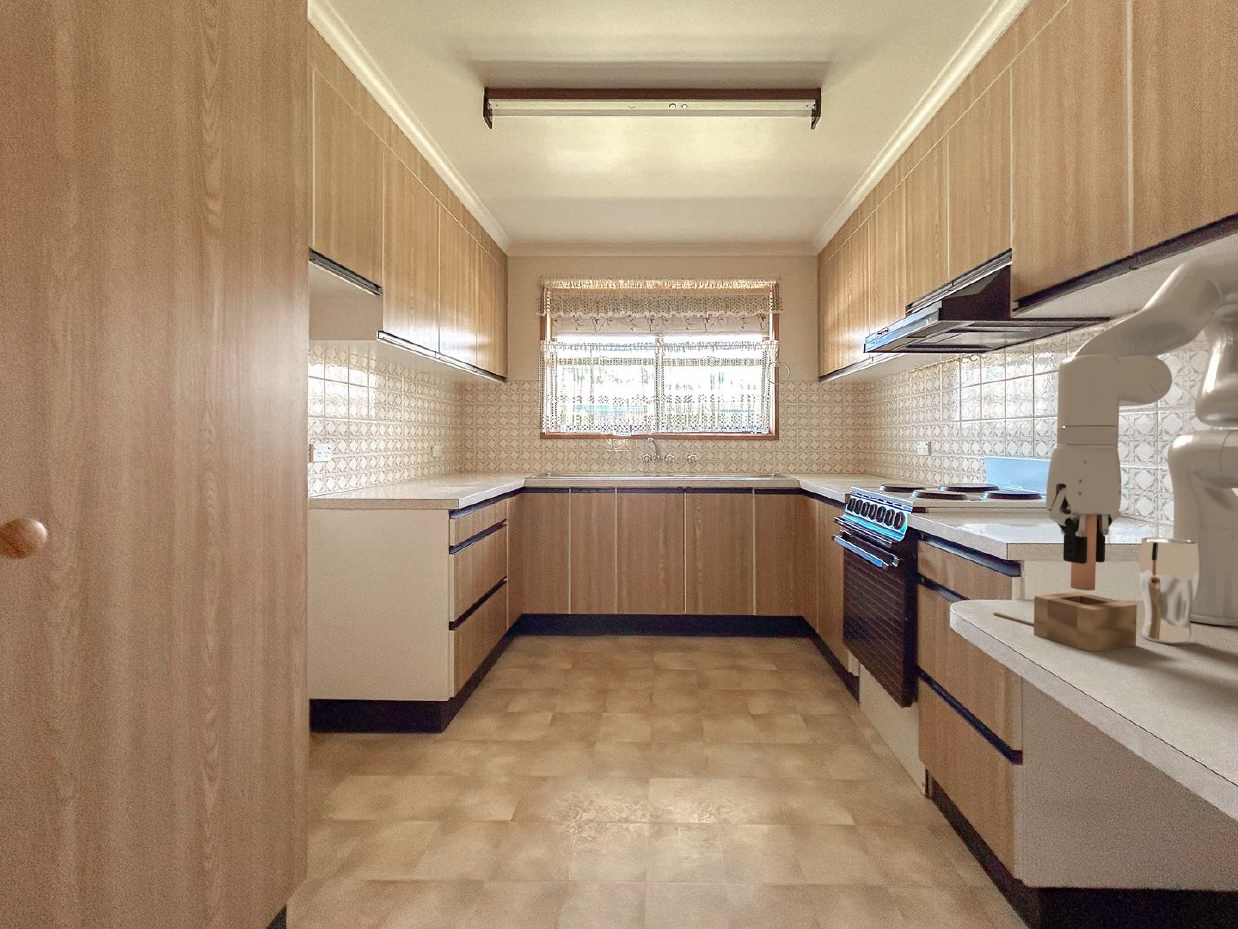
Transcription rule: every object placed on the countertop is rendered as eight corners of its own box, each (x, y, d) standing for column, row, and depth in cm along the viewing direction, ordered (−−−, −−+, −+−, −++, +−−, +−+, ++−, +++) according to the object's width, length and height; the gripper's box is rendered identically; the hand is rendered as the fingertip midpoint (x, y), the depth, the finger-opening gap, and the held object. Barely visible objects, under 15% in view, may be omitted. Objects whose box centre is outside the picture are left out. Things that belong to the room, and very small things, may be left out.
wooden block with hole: (1075, 629, 105) (1076, 591, 105) (1135, 645, 97) (1136, 604, 96) (1033, 634, 102) (1034, 596, 102) (1091, 651, 94) (1092, 610, 94)
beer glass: (1209, 647, 95) (1211, 544, 95) (1154, 645, 97) (1156, 543, 96) (1178, 634, 102) (1181, 537, 102) (1127, 631, 104) (1129, 536, 103)
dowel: (1080, 585, 101) (1082, 507, 101) (1099, 589, 98) (1102, 509, 98) (1065, 586, 100) (1067, 508, 100) (1085, 591, 97) (1087, 509, 97)
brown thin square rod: (996, 614, 114) (996, 612, 114) (1050, 629, 105) (1050, 628, 105) (993, 614, 114) (993, 613, 114) (1047, 630, 105) (1047, 628, 104)
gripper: (1100, 439, 105) (1097, 555, 105) (1023, 438, 99) (1020, 560, 100) (1151, 439, 97) (1148, 563, 98) (1071, 438, 92) (1068, 569, 93)
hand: (1083, 560), depth 99 cm, fingers closed on dowel, 3 cm apart
